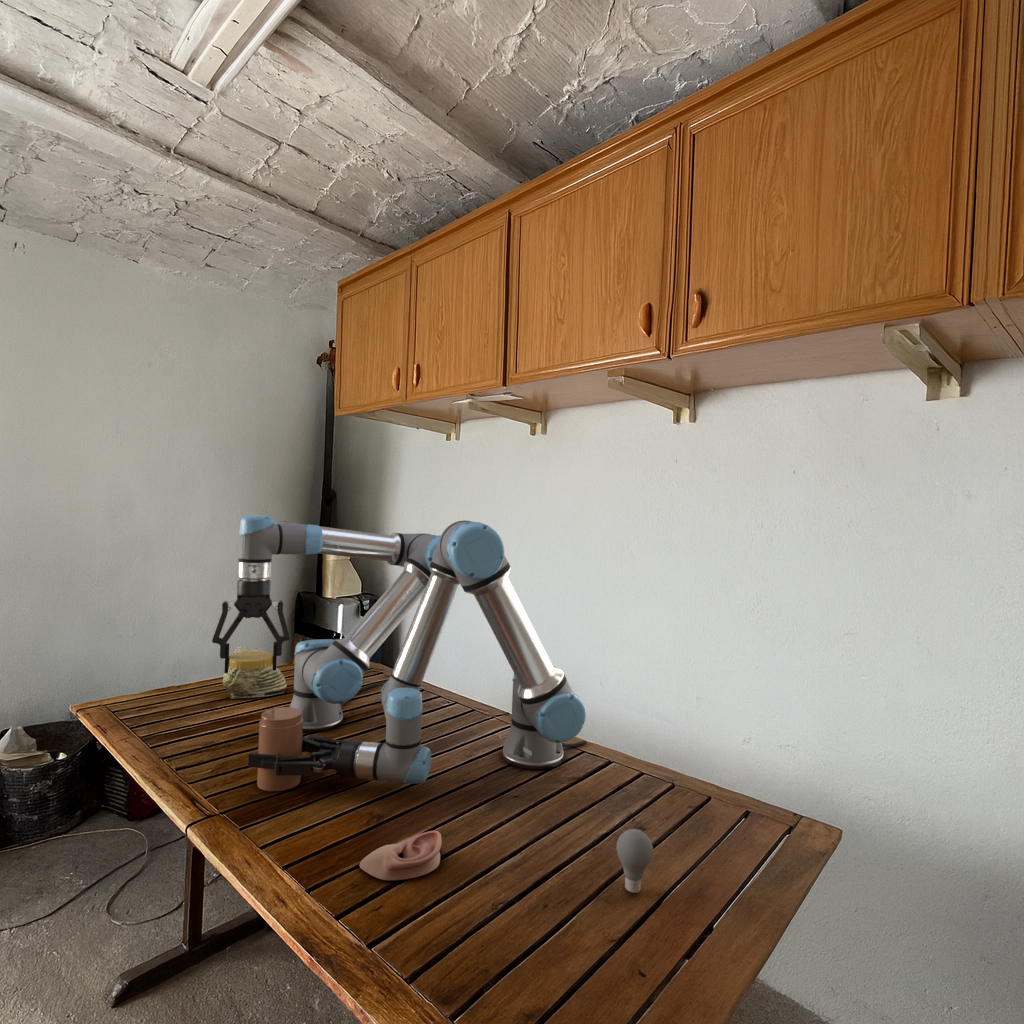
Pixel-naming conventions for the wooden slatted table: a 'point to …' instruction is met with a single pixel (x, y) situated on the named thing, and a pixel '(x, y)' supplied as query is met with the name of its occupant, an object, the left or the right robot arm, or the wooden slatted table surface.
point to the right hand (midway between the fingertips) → (260, 750)
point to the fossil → (253, 680)
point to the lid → (250, 660)
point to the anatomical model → (405, 858)
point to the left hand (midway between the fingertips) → (250, 670)
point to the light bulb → (634, 857)
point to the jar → (279, 745)
